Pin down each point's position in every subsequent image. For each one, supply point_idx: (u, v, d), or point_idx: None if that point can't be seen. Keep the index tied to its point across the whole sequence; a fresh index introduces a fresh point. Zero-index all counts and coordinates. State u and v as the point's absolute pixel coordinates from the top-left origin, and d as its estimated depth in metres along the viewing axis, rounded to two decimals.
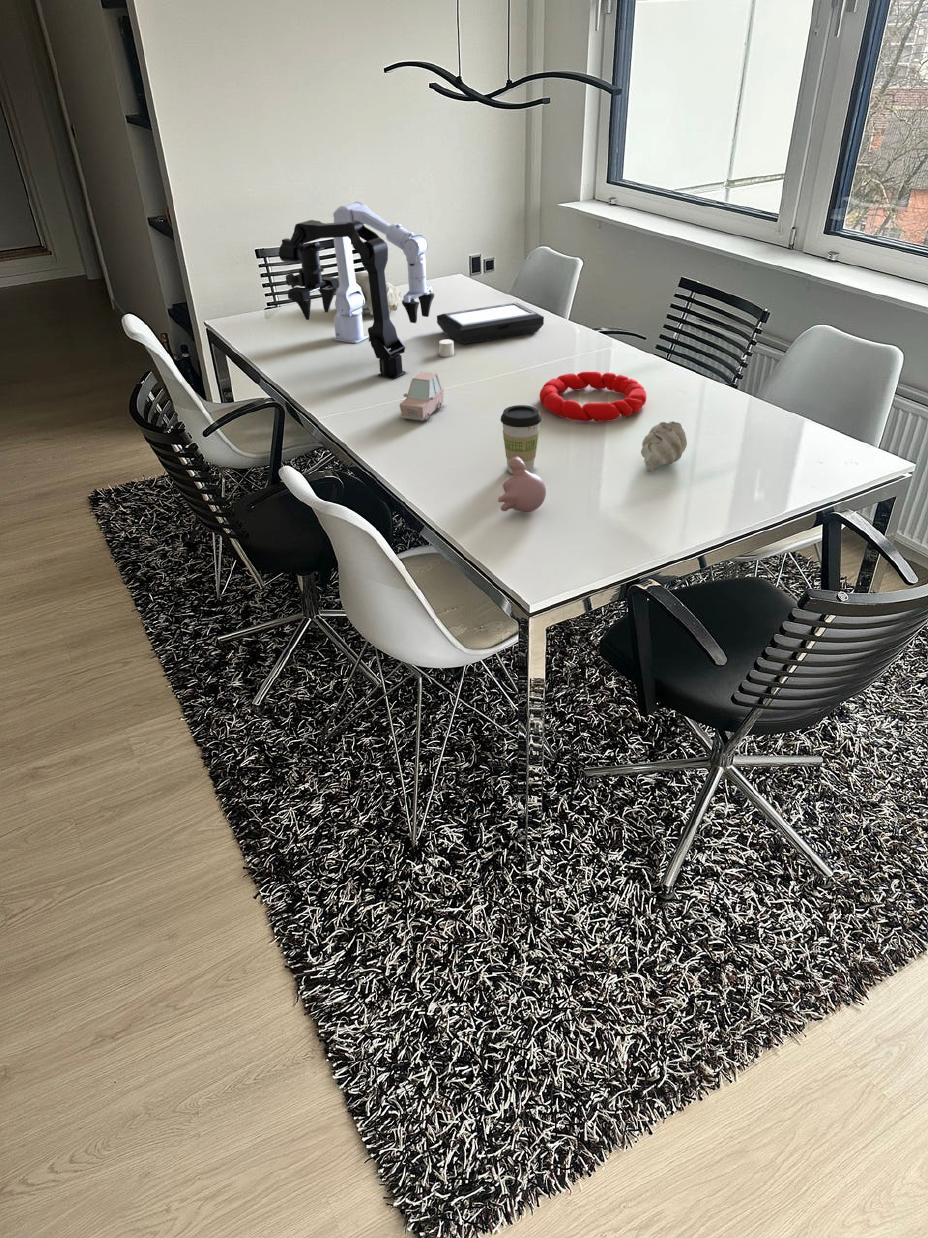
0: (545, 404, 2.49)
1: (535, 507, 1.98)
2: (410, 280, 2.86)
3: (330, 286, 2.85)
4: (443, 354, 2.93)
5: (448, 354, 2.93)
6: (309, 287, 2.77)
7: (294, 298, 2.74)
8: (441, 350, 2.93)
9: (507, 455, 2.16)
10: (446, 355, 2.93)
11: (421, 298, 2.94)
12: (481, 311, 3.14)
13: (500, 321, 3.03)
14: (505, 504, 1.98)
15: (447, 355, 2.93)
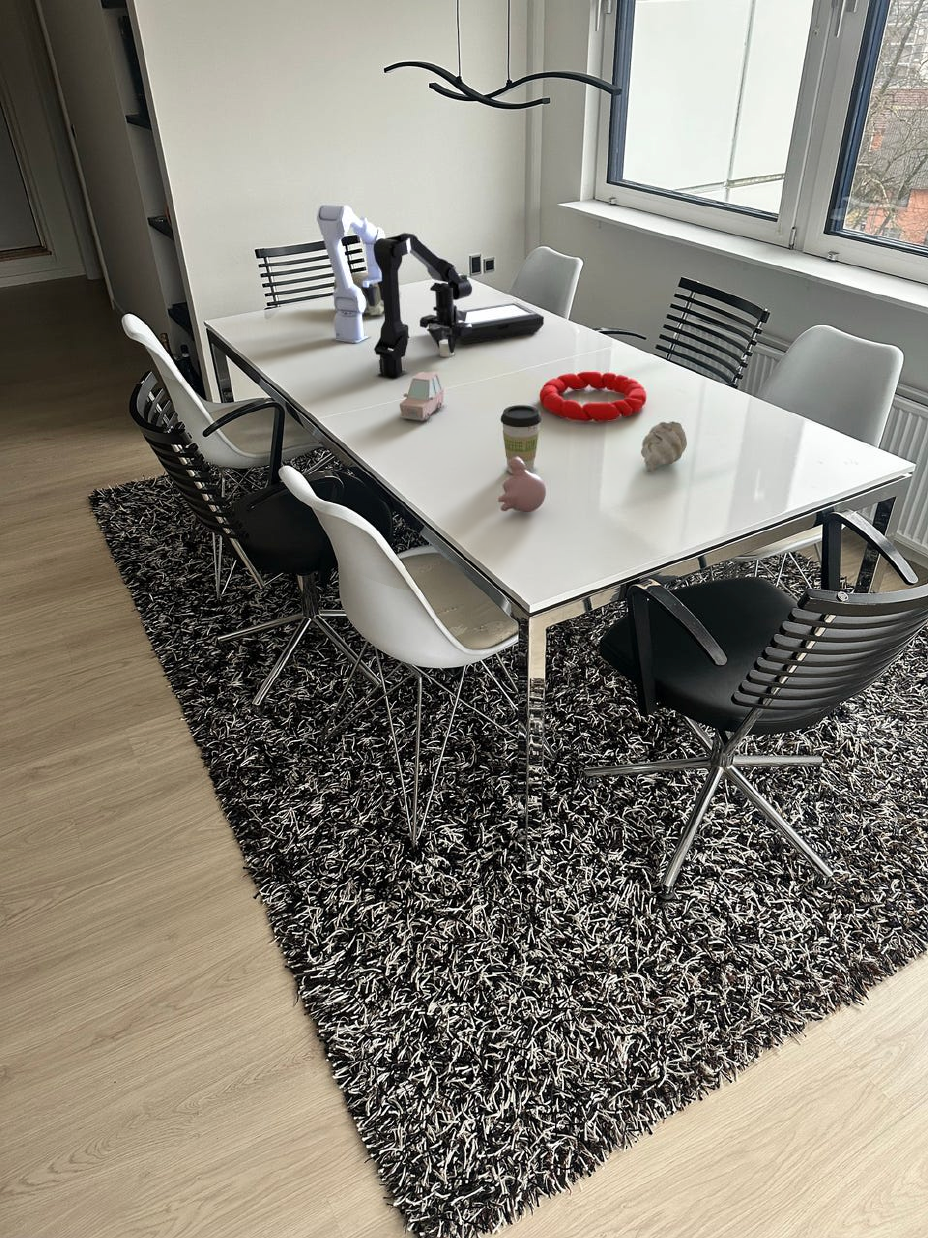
0: (545, 404, 2.49)
1: (535, 507, 1.98)
2: (369, 267, 3.13)
3: None
4: (443, 354, 2.93)
5: (448, 354, 2.93)
6: None
7: None
8: (441, 350, 2.93)
9: (507, 455, 2.16)
10: (446, 355, 2.93)
11: (380, 284, 3.21)
12: (481, 311, 3.14)
13: (500, 321, 3.03)
14: (505, 504, 1.98)
15: (447, 355, 2.93)
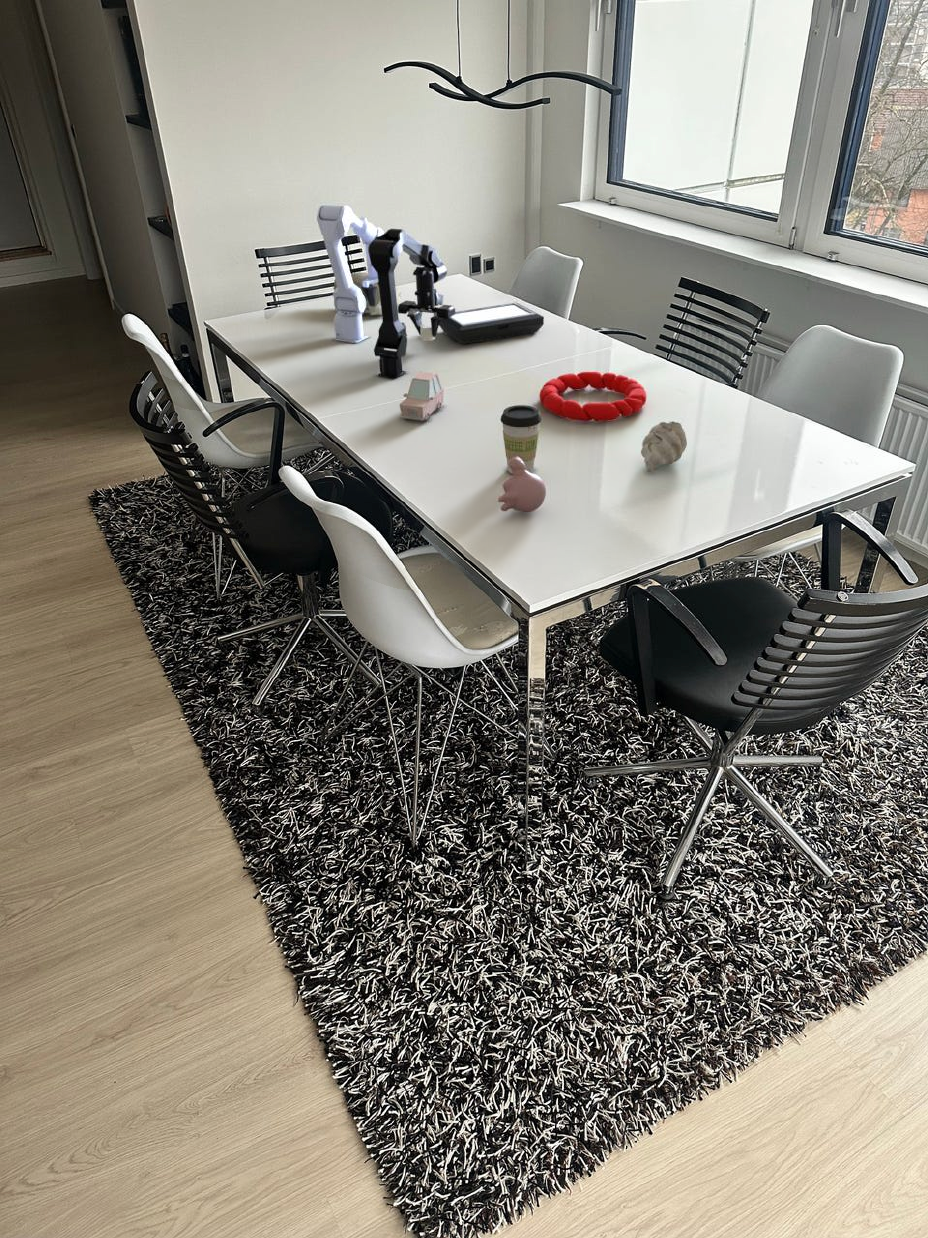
0: (545, 404, 2.49)
1: (535, 507, 1.98)
2: (369, 267, 3.13)
3: None
4: (426, 338, 2.94)
5: (431, 338, 2.94)
6: None
7: None
8: (424, 335, 2.93)
9: (507, 455, 2.16)
10: (429, 339, 2.94)
11: None
12: (481, 311, 3.14)
13: (500, 321, 3.03)
14: (505, 504, 1.98)
15: (430, 339, 2.94)
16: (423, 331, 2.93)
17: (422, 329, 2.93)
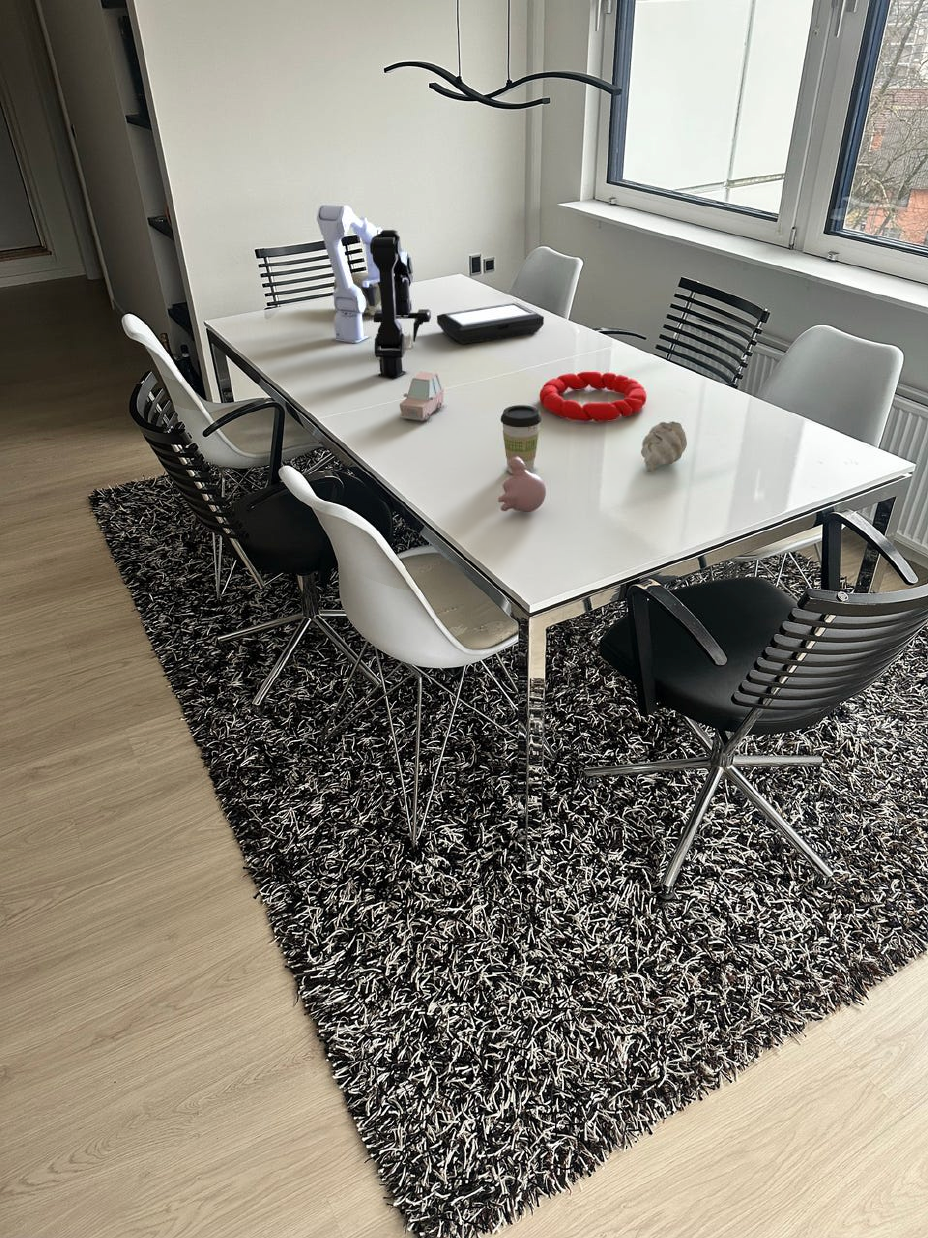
0: (545, 404, 2.49)
1: (535, 507, 1.98)
2: (369, 267, 3.13)
3: None
4: (405, 347, 3.01)
5: (409, 346, 3.01)
6: None
7: None
8: None
9: (507, 455, 2.16)
10: (408, 347, 3.01)
11: None
12: (481, 311, 3.14)
13: (500, 321, 3.03)
14: (505, 504, 1.98)
15: (408, 347, 3.01)
16: None
17: None
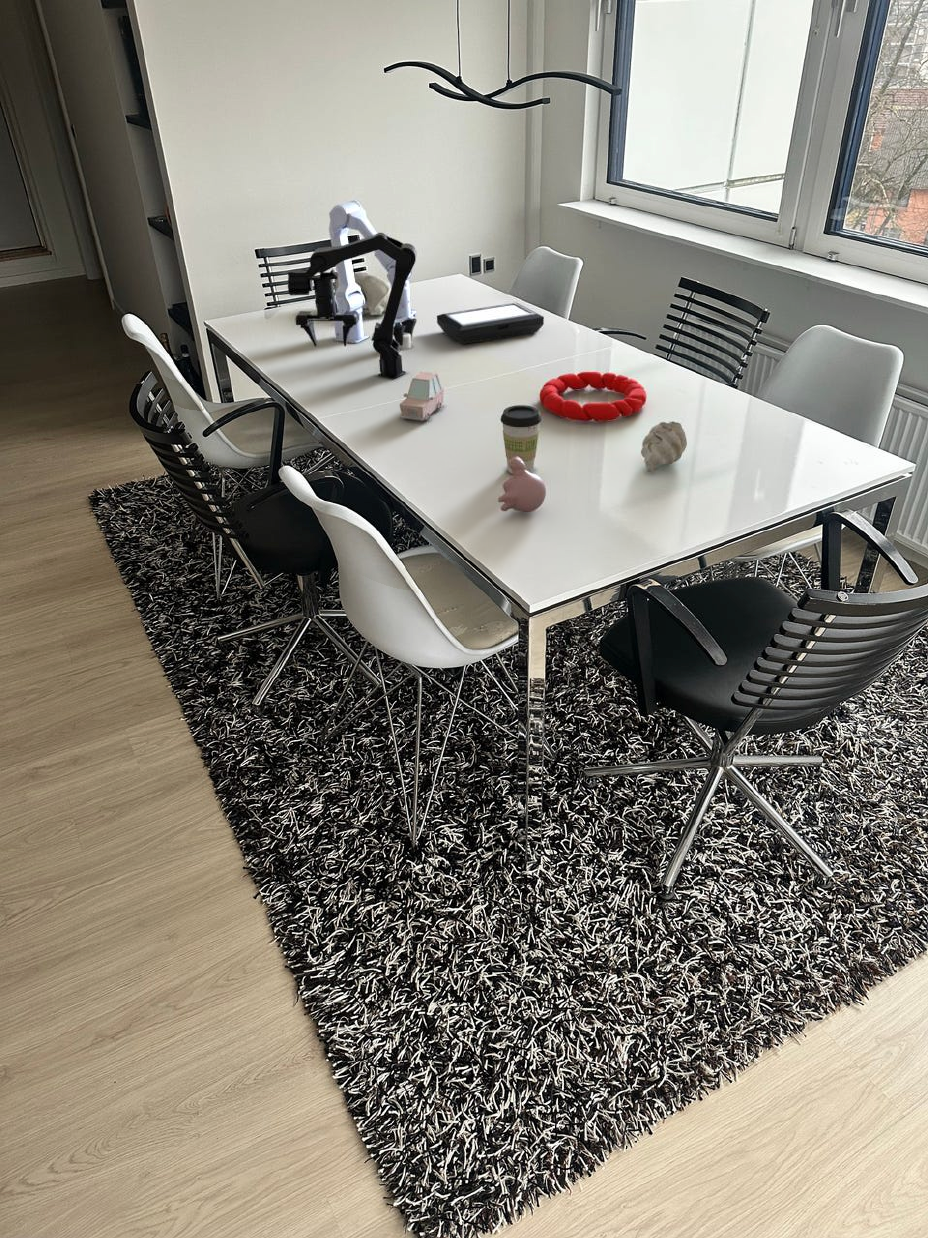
0: (545, 404, 2.49)
1: (535, 507, 1.98)
2: None
3: None
4: (405, 347, 3.01)
5: (409, 346, 3.01)
6: (317, 315, 2.69)
7: None
8: None
9: (507, 455, 2.16)
10: (408, 347, 3.01)
11: (404, 323, 3.01)
12: (481, 311, 3.14)
13: (500, 321, 3.03)
14: (505, 504, 1.98)
15: (409, 347, 3.01)
16: None
17: None
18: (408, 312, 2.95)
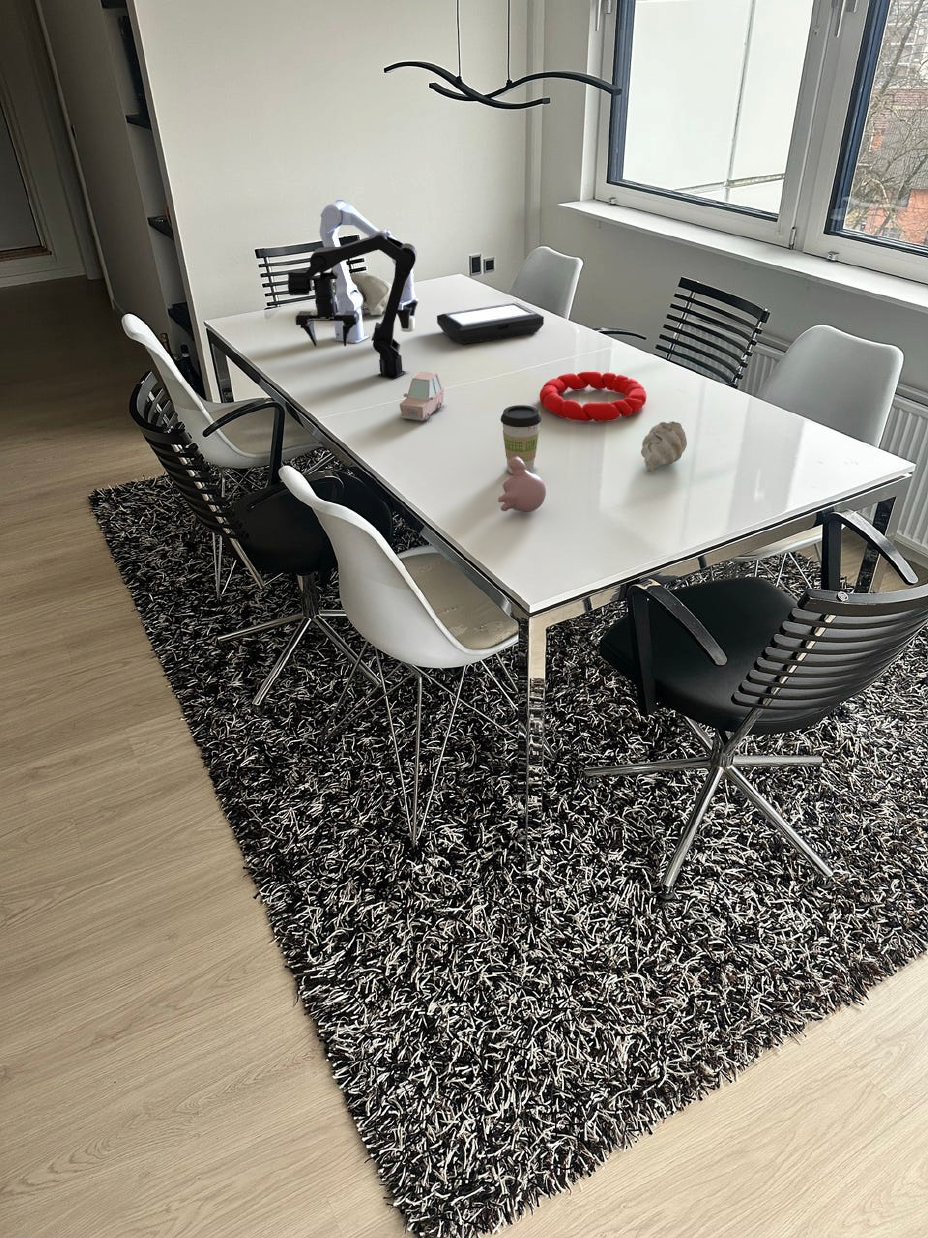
0: (545, 404, 2.49)
1: (535, 507, 1.98)
2: None
3: None
4: (410, 329, 3.03)
5: (414, 328, 3.04)
6: (317, 315, 2.69)
7: None
8: None
9: (507, 455, 2.16)
10: (413, 329, 3.03)
11: (405, 306, 3.03)
12: (481, 311, 3.14)
13: (500, 321, 3.03)
14: (505, 504, 1.98)
15: (413, 329, 3.04)
16: None
17: None
18: (413, 294, 2.97)
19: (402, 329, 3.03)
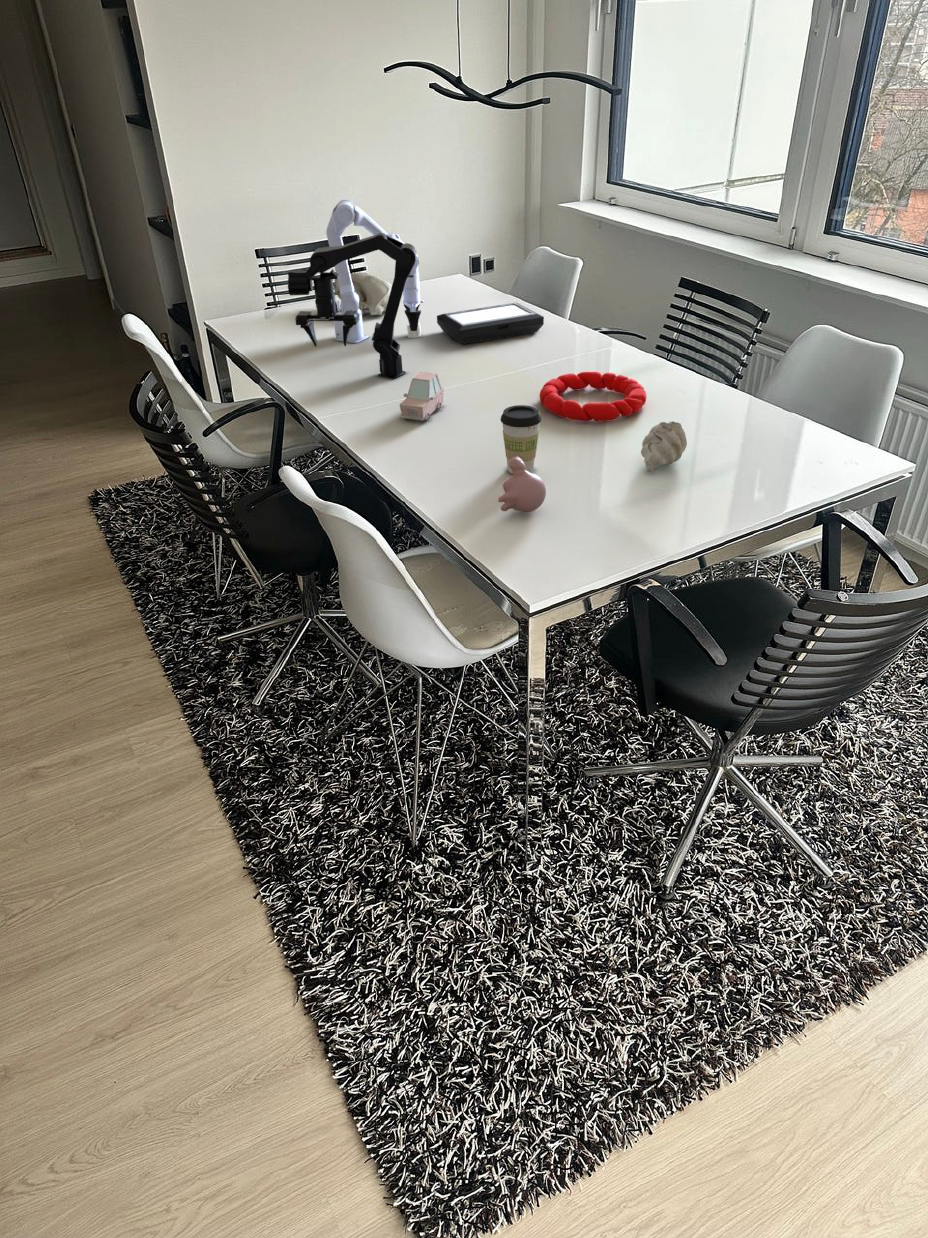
0: (545, 404, 2.49)
1: (535, 507, 1.98)
2: (409, 291, 3.02)
3: None
4: (418, 335, 3.11)
5: (420, 333, 3.13)
6: (317, 315, 2.69)
7: None
8: (416, 332, 3.10)
9: (507, 455, 2.16)
10: (420, 334, 3.12)
11: (408, 308, 3.11)
12: (481, 311, 3.14)
13: (500, 321, 3.03)
14: (505, 504, 1.98)
15: (420, 334, 3.12)
16: None
17: None
18: (419, 296, 3.05)
19: (410, 335, 3.11)
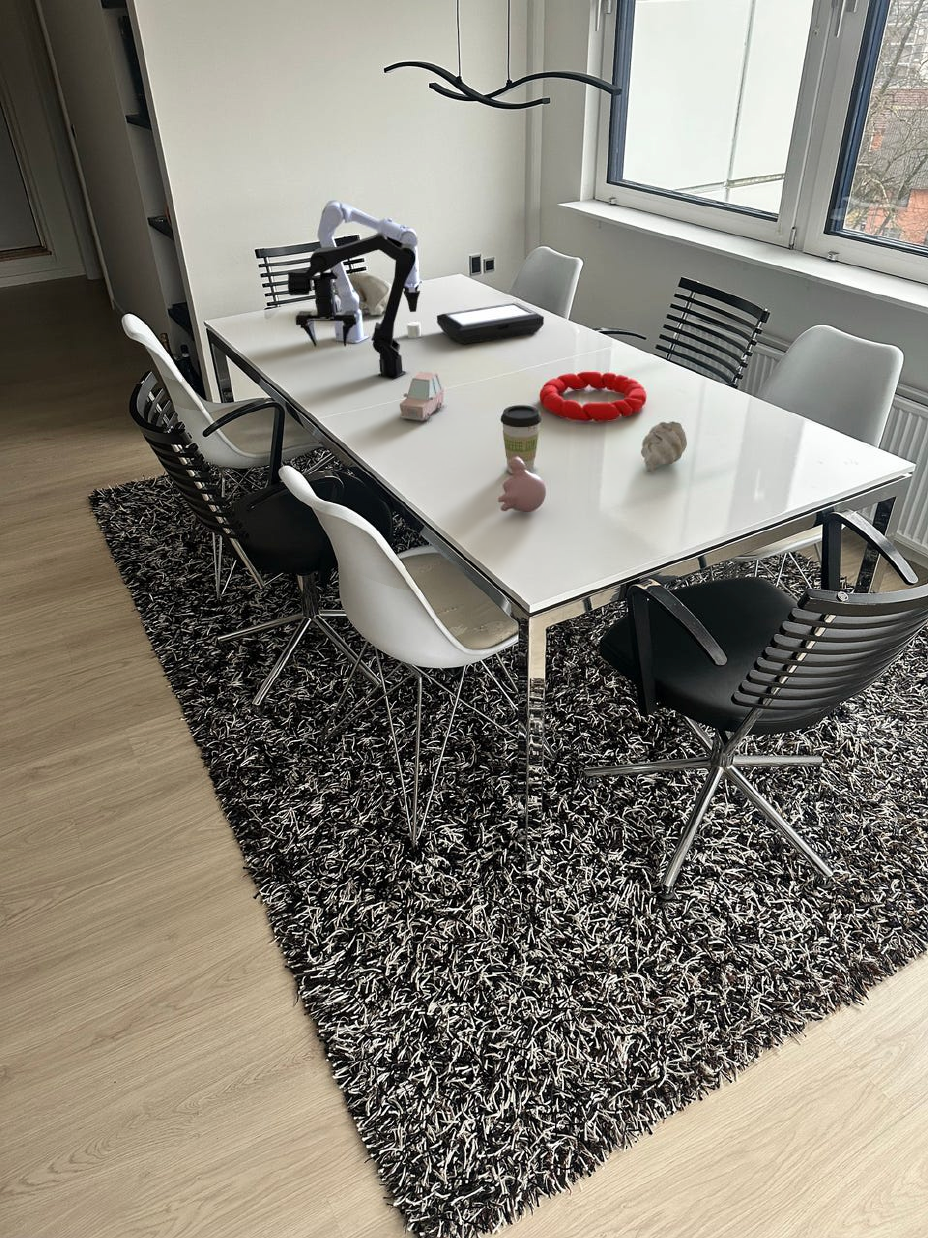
0: (545, 404, 2.49)
1: (535, 507, 1.98)
2: None
3: None
4: (418, 335, 3.11)
5: (420, 333, 3.13)
6: (317, 315, 2.69)
7: None
8: (416, 332, 3.10)
9: (507, 455, 2.16)
10: (420, 334, 3.12)
11: (407, 288, 3.07)
12: (481, 311, 3.14)
13: (500, 321, 3.03)
14: (505, 504, 1.98)
15: (420, 334, 3.12)
16: (416, 328, 3.10)
17: (415, 327, 3.09)
18: (418, 276, 3.02)
19: (410, 335, 3.11)
